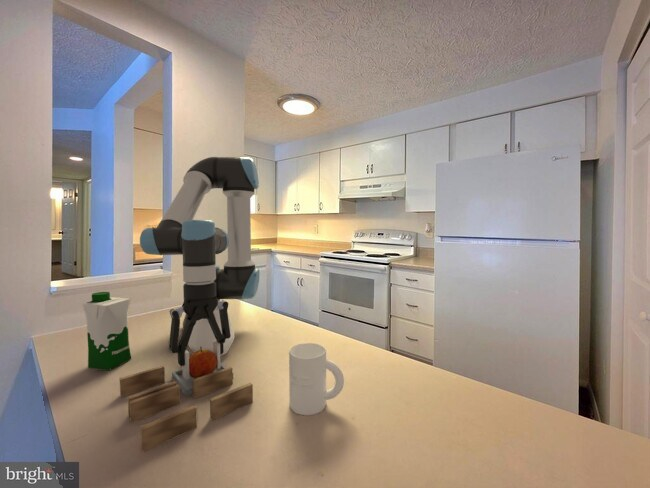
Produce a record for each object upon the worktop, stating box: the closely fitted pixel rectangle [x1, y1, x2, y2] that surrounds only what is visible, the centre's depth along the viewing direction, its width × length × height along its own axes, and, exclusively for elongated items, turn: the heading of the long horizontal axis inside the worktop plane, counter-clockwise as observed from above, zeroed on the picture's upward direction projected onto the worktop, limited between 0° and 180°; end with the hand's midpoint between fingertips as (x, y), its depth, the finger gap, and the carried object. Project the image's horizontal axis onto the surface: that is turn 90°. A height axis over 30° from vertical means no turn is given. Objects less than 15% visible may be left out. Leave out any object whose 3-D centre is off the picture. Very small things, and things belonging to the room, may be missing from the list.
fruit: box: [189, 347, 217, 379], centre depth 73 cm, size 7×7×8 cm
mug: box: [288, 342, 345, 416], centre depth 63 cm, size 8×12×12 cm
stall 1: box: [119, 365, 177, 419], centre depth 66 cm, size 9×11×4 cm
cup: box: [187, 306, 235, 357], centre depth 89 cm, size 13×13×14 cm
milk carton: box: [82, 291, 132, 371], centre depth 81 cm, size 9×9×20 cm
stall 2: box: [129, 385, 198, 453], centre depth 57 cm, size 9×11×4 cm
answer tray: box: [171, 362, 234, 398], centre depth 74 cm, size 11×11×2 cm
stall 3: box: [192, 366, 254, 421], centre depth 65 cm, size 9×11×4 cm
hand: (202, 371), depth 74 cm, fingers closed on fruit, 7 cm apart
